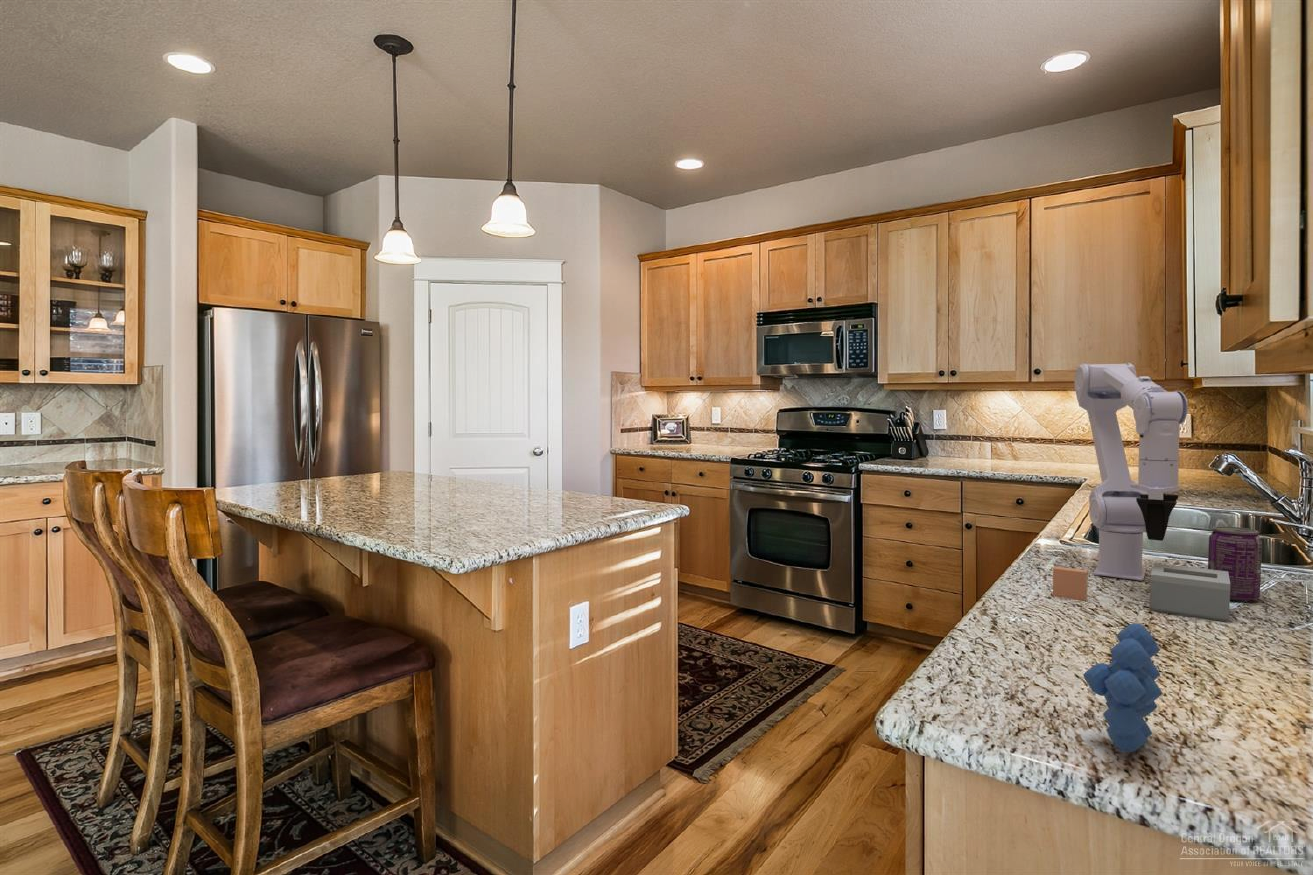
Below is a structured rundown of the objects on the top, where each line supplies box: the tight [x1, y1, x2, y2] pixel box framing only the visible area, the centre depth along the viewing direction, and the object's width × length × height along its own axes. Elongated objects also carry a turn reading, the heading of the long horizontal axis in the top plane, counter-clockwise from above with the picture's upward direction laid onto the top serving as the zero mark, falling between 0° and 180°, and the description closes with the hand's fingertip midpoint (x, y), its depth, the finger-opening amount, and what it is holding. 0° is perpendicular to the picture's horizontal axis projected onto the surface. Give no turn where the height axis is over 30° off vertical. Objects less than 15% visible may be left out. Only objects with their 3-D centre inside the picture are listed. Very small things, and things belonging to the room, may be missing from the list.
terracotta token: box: [1052, 565, 1089, 602], centre depth 121 cm, size 2×5×5 cm, turn 52°
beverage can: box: [1207, 525, 1263, 602], centre depth 120 cm, size 7×7×12 cm
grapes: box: [1082, 622, 1163, 754], centre depth 69 cm, size 12×7×12 cm, turn 136°
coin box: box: [1149, 562, 1231, 623], centre depth 114 cm, size 10×10×6 cm
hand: (1156, 536), depth 121 cm, fingers open, 7 cm apart
